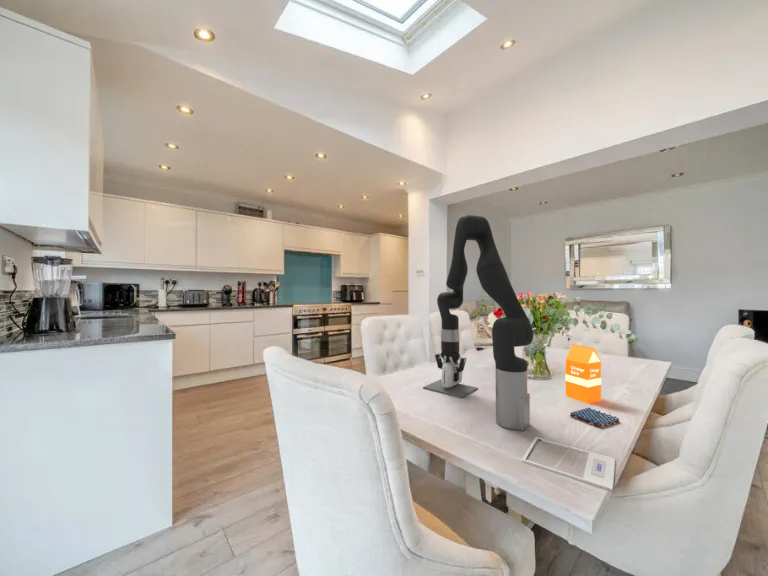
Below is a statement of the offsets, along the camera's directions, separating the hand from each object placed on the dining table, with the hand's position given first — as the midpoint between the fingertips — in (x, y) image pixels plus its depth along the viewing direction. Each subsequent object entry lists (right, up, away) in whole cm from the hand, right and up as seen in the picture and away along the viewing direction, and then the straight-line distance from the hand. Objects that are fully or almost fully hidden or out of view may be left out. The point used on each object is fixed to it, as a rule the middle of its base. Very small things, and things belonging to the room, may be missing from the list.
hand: (450, 380), depth 130 cm
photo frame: (+17, -4, -54) cm, 57 cm away
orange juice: (+48, -4, -12) cm, 50 cm away
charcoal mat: (0, -4, 0) cm, 4 cm away
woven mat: (+39, -4, -31) cm, 50 cm away
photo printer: (+5, +3, +5) cm, 8 cm away
